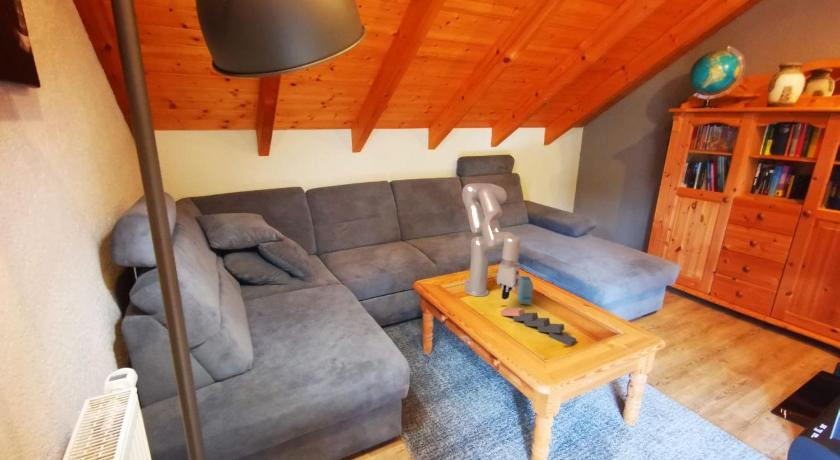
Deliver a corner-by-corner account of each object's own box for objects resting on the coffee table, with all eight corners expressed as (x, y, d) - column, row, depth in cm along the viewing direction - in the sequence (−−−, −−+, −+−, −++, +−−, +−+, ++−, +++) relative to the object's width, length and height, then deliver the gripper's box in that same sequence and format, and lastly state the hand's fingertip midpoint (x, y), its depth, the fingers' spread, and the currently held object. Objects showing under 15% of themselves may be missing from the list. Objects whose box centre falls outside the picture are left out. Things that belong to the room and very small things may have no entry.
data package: (530, 306, 205) (533, 284, 202) (521, 305, 205) (524, 283, 202) (525, 296, 217) (528, 275, 214) (517, 295, 217) (520, 275, 214)
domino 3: (523, 320, 183) (543, 321, 176) (529, 317, 187) (549, 318, 180) (524, 326, 183) (544, 326, 176) (530, 322, 187) (550, 323, 179)
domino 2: (512, 316, 187) (531, 315, 180) (518, 313, 191) (537, 312, 184) (514, 321, 187) (532, 320, 180) (519, 318, 191) (538, 317, 184)
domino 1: (500, 310, 192) (518, 310, 185) (506, 308, 196) (524, 307, 188) (501, 315, 192) (519, 315, 185) (507, 313, 195) (525, 312, 188)
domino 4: (537, 326, 178) (558, 327, 172) (542, 323, 182) (563, 324, 175) (538, 331, 179) (559, 333, 172) (543, 328, 182) (564, 329, 175)
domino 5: (549, 332, 175) (570, 342, 168) (554, 329, 178) (576, 338, 171) (548, 337, 175) (570, 347, 168) (553, 334, 179) (575, 343, 172)
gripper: (527, 265, 185) (522, 301, 190) (501, 256, 196) (496, 291, 200) (518, 268, 180) (513, 305, 185) (491, 259, 190) (487, 294, 195)
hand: (505, 298), depth 192 cm, fingers closed
